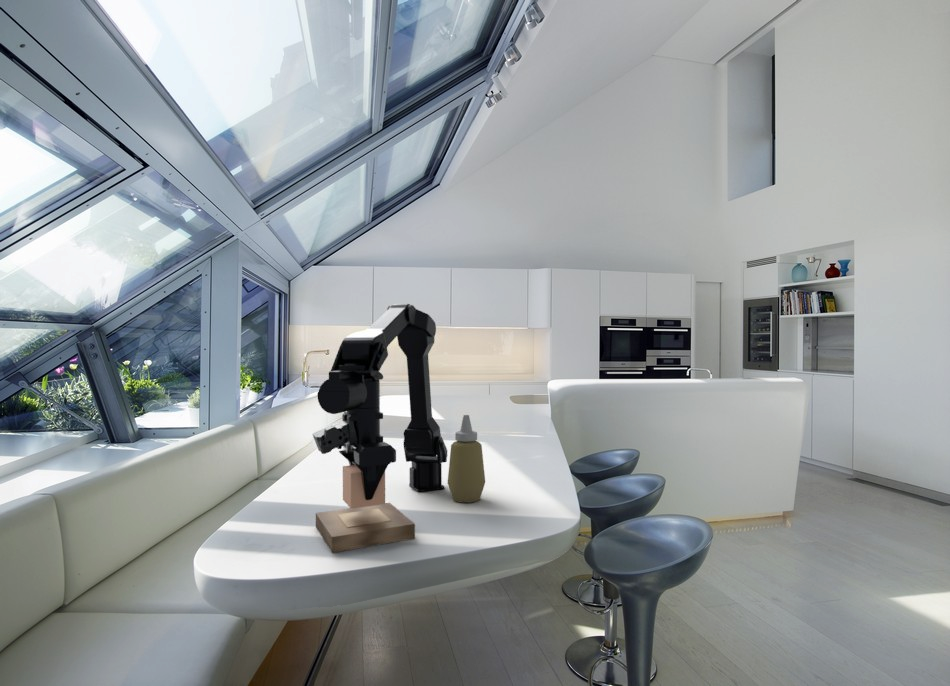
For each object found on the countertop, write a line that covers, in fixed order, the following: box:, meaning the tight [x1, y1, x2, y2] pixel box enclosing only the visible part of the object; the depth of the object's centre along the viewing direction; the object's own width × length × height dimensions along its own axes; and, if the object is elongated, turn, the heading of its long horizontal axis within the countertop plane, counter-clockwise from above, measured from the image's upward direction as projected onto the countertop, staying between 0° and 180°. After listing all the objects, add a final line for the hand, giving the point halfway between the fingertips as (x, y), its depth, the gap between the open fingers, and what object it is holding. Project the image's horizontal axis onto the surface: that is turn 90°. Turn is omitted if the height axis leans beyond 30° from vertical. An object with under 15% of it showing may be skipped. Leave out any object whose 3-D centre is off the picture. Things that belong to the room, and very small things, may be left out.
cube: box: [342, 465, 386, 509], centre depth 97 cm, size 6×6×6 cm
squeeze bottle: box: [447, 414, 486, 503], centre depth 117 cm, size 8×8×18 cm
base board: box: [315, 502, 416, 554], centre depth 96 cm, size 14×14×3 cm
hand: (363, 495), depth 97 cm, fingers closed on cube, 6 cm apart
